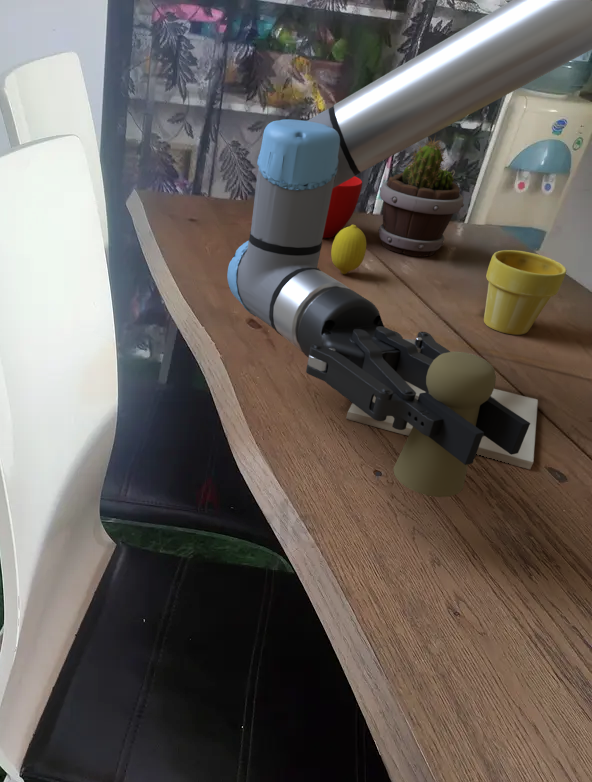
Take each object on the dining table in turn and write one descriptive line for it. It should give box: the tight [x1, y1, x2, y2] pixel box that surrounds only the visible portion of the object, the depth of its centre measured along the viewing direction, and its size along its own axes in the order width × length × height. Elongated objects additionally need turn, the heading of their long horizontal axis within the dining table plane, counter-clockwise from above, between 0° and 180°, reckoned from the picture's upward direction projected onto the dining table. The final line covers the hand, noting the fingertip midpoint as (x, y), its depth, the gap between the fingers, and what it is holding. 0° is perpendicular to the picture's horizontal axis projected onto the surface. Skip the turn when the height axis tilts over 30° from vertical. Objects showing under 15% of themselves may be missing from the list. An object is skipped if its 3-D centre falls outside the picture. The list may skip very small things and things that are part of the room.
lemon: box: [330, 224, 367, 275], centre depth 120 cm, size 6×6×8 cm
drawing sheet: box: [346, 381, 539, 470], centre depth 85 cm, size 20×16×1 cm
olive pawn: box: [392, 351, 497, 498], centre depth 60 cm, size 6×6×11 cm
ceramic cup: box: [322, 176, 363, 239], centre depth 137 cm, size 13×17×10 cm
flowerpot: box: [378, 133, 465, 257], centre depth 133 cm, size 14×15×20 cm
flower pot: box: [483, 249, 567, 336], centre depth 108 cm, size 10×10×10 cm
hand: (497, 443), depth 56 cm, fingers closed on olive pawn, 4 cm apart
